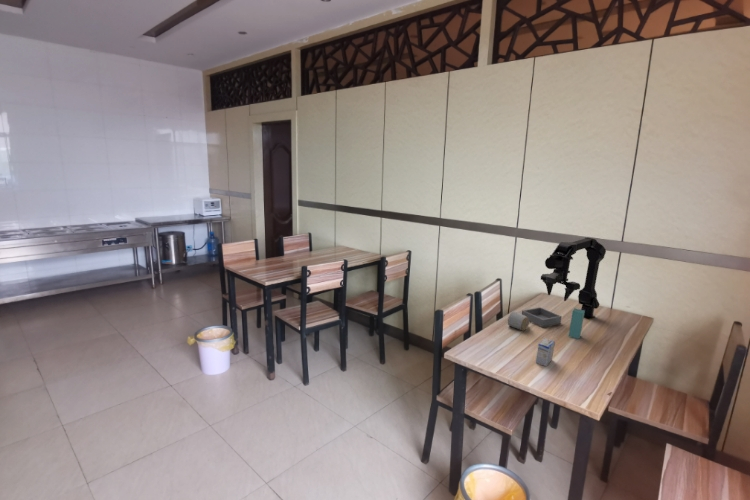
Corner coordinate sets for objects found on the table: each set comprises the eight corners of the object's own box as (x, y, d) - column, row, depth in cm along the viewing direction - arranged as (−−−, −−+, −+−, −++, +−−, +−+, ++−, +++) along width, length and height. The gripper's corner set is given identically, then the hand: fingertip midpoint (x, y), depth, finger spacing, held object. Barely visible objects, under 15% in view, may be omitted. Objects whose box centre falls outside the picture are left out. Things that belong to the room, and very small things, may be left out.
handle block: (570, 333, 192) (574, 308, 189) (580, 336, 189) (584, 310, 186) (568, 336, 188) (572, 310, 185) (578, 339, 186) (583, 313, 183)
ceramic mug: (521, 332, 190) (524, 317, 188) (506, 327, 196) (508, 312, 194) (532, 327, 197) (534, 313, 195) (516, 322, 203) (518, 308, 201)
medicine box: (541, 356, 167) (544, 337, 165) (552, 360, 164) (555, 340, 162) (535, 363, 161) (538, 343, 159) (546, 367, 158) (549, 347, 156)
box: (539, 314, 215) (540, 307, 214) (560, 323, 203) (561, 316, 202) (521, 317, 209) (522, 310, 208) (542, 327, 197) (543, 320, 196)
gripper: (535, 264, 200) (530, 293, 203) (568, 273, 184) (562, 305, 187) (550, 263, 205) (545, 291, 208) (583, 272, 189) (577, 303, 192)
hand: (556, 297), depth 199 cm, fingers open, 9 cm apart
